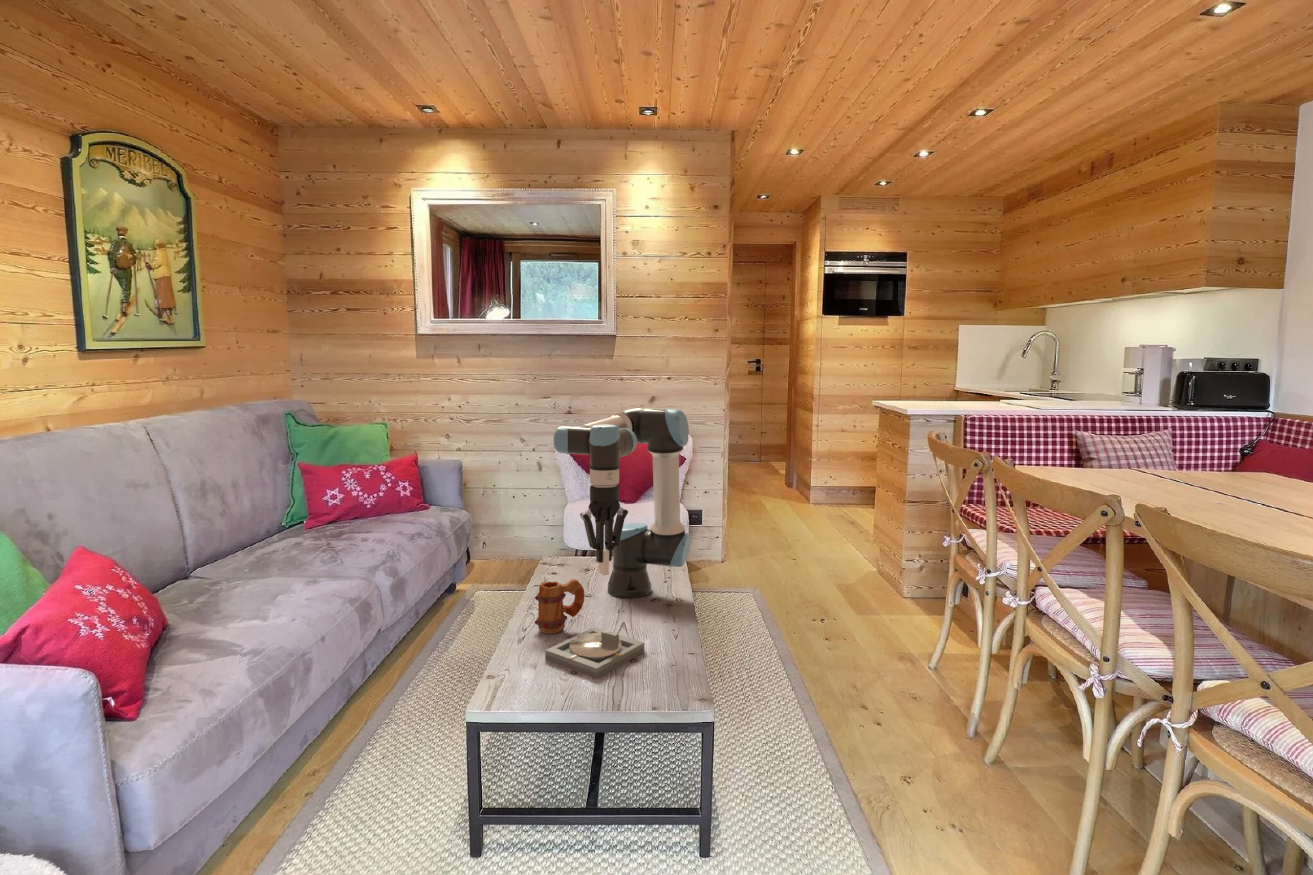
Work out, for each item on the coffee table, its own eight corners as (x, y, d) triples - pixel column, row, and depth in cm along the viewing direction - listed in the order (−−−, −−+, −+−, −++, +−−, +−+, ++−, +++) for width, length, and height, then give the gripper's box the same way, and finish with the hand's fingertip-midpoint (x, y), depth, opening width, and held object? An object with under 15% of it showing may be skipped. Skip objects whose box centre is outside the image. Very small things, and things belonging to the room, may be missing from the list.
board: (594, 635, 199) (594, 625, 198) (644, 651, 188) (644, 641, 188) (545, 659, 183) (545, 648, 182) (596, 678, 172) (596, 667, 172)
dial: (558, 653, 183) (558, 631, 182) (590, 635, 195) (590, 615, 194) (601, 666, 176) (601, 643, 175) (631, 647, 188) (631, 626, 187)
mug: (536, 637, 197) (535, 587, 195) (533, 627, 205) (533, 578, 203) (586, 633, 201) (586, 583, 199) (582, 622, 209) (582, 574, 207)
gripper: (587, 489, 170) (587, 581, 173) (633, 485, 176) (632, 574, 179) (575, 484, 176) (575, 573, 179) (620, 480, 183) (620, 566, 186)
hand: (604, 573), depth 179 cm, fingers closed
